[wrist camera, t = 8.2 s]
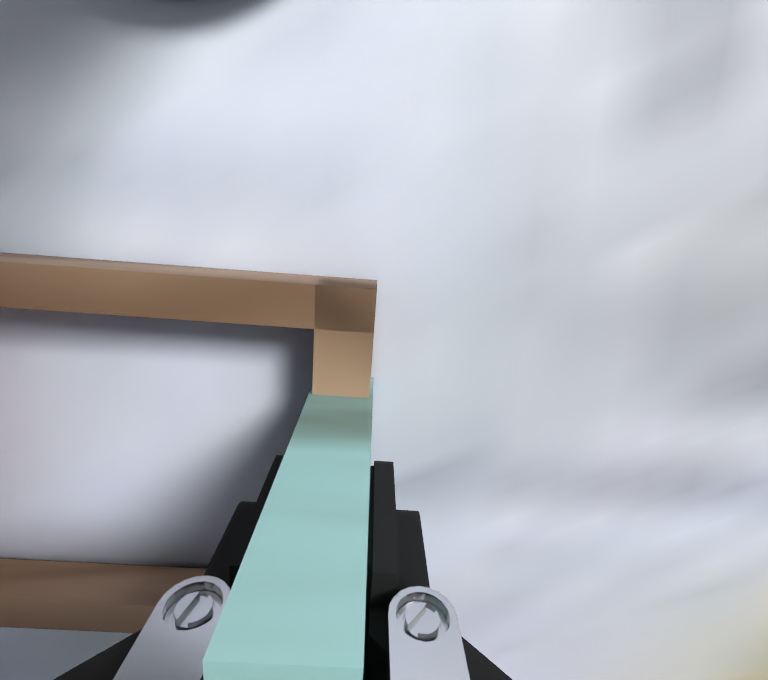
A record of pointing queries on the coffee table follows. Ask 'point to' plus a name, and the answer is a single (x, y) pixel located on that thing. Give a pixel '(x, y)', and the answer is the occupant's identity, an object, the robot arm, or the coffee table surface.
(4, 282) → the wooden rectangular frame
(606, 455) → the coffee table surface
